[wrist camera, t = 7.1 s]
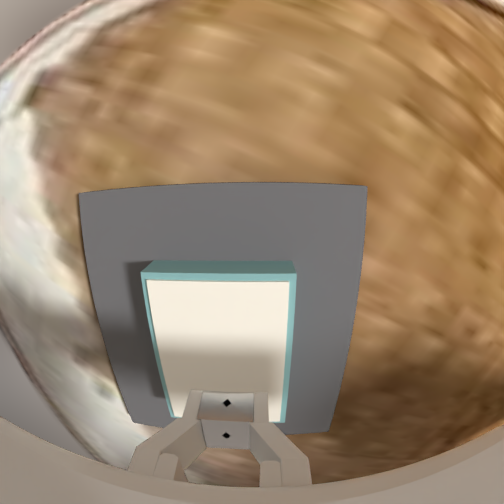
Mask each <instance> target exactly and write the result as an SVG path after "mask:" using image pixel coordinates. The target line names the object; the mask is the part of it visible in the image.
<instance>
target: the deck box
mask: <svg viewBox="0 0 504 504" xmlns="http://www.w3.org/2000/svg"><path fill="white" fill-rule="evenodd" d="M296 279H297V273H296V270H295V267H294V265H293V262H292V261H173V260H154V261H152V262H151V263H150V264H149V265H148V266H147V267H146V268H145V269H144V270H142V271H141V280H142V287H143V293H144V300H145V306H146V312H147V317H148V323H149V328H150V333H151V338H152V343H153V348H154V353H155V357H156V361H157V366H158V370H159V374H160V378H161V382H162V386H163V390H164V394H165V397H166V401H167V405H168V408H169V412H170V415H171V417H174V418H182V416H183V412H184V409H185V405H186V402H187V399H188V395H189V392H190V391H191V389H194V390H203V391H204V390H206V391H219V392H254V393H255V392H267V393H268V411H269V422H273V423H285V417H286V408H287V398H288V388H289V378H290V367H291V355H292V342H293V329H294V314H295V298H296Z"/></svg>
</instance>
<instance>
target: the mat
mask: <svg viewBox="0 0 504 504" xmlns="http://www.w3.org/2000/svg"><path fill="white" fill-rule="evenodd" d="M79 204H80V215H81V225H82V234H83V242H84V249H85V256H86V262H87V268H88V274H89V279H90V285H91V290H92V294H93V299H94V303H95V308H96V312H97V316H98V320H99V324H100V328H101V332H102V335H103V339H104V342H105V346H106V349H107V353H108V356H109V359H110V362H111V365H112V368H113V371H114V374H115V377H116V380H117V383H118V386H119V388H120V391H121V394H122V396H123V399H124V402H125V404H126V407H127V409H128V412H129V414H130V416H131V419H132V421H133V422H134V423H139V424H144V425H150V426H156V427H162V428H164V427H166V426H167V425H169V424H170V423H171V422H173V421H174V420H176V419H177V418H174V417H171V415H170V412H169V408H168V405H167V401H166V397H165V394H164V390H163V386H162V382H161V378H160V374H159V370H158V366H157V361H156V357H155V353H154V348H153V343H152V338H151V333H150V328H149V323H148V317H147V312H146V306H145V300H144V293H143V287H142V280H141V271H142V270H144V269H145V268H146V267H147V266H148V265H149V264H150V263H151V262H152V261H154V260H173V261H292V262H293V265H294V267H295V270H296V273H297V279H296V298H295V314H294V329H293V342H292V355H291V367H290V378H289V388H288V398H287V408H286V417H285V423H274V424H275V425H276V426H277V427H278V428H279V429H280V430H281V431H282V432H283V433H284V435H289V434H306V433H318V432H328V431H329V428H330V425H331V421H332V418H333V414H334V411H335V407H336V403H337V399H338V395H339V391H340V387H341V383H342V379H343V374H344V370H345V365H346V361H347V356H348V351H349V346H350V341H351V335H352V330H353V324H354V318H355V312H356V305H357V298H358V291H359V284H360V276H361V267H362V258H363V248H364V236H365V223H366V206H367V186H362V185H345V184H325V183H293V182H228V183H196V184H175V185H159V186H145V187H132V188H121V189H110V190H101V191H92V192H84V193H79Z"/></svg>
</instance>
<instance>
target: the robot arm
mask: <svg viewBox="0 0 504 504" xmlns="http://www.w3.org/2000/svg"><path fill="white" fill-rule="evenodd" d="M206 447H211V448H231V449H250V451H251V453H252V454H253V456H254V457H255V458H256V460H257V461H258V462H259V464H260V484H259V487H231V486H216V485H205V484H196V483H188V480H187V478H186V475H185V473H184V470H185V469H186V468H187V467H188V466H189V465H191V464H192V463H193V462H194V460H195V459H196V458H197V457H198V456H199V455H200V454H201V453H202V452H203V451H204V450H205V449H206ZM0 504H504V425H501V426H498V427H496V428H494V429H493V430H491V431H489V432H487V433H485V434H483V435H481V436H479V437H477V438H475V439H473V440H471V441H469V442H467V443H465V444H462V445H460V446H458V447H456V448H453V449H451V450H449V451H446V452H444V453H441V454H439V455H436V456H433V457H430V458H428V459H425V460H422V461H419V462H416V463H413V464H410V465H407V466H403V467H400V468H396V469H393V470H389V471H385V472H381V473H377V474H373V475H368V476H364V477H359V478H353V479H348V480H342V481H336V482H329V483H321V484H312V480H311V473H310V465H309V458H308V457H307V456H306V455H305V454H304V453H303V452H302V451H301V450H300V449H299V448H297V447H296V446H295V445H294V444H293V443H292V442H291V441H290V440H289V439H288V438H287V437H286V436H285V435H284V433H283V432H282V431H281V430H280V429H279V428H278V427H277V426H276V425H275V424H274V423H273V422H269V411H268V393H267V392H255V393H254V392H219V391H206V390H204V391H203V390H194V389H191V391H190V392H189V395H188V399H187V402H186V405H185V409H184V412H183V416H182V418H177V419H176V420H174V421H173V422H171V423H170V424H169V425H167V426H166V427H164V428H163V429H162V430H160V431H159V432H157V433H156V434H154V435H153V436H152V437H150V438H149V439H147V440H146V441H144V442H143V443H141V444H140V445H138V446H137V447H136V449H135V452H134V454H133V457H132V460H131V462H130V465H129V467H128V470H124V469H121V468H117V467H114V466H110V465H107V464H104V463H101V462H98V461H95V460H92V459H89V458H86V457H84V456H81V455H78V454H76V453H73V452H71V451H68V450H66V449H63V448H61V447H58V446H56V445H54V444H52V443H50V442H47V441H45V440H43V439H41V438H39V437H37V436H35V435H33V434H31V433H29V432H27V431H25V430H24V429H21V428H20V427H18V426H16V425H14V424H13V423H11V422H9V421H8V420H6V419H4V418H2V417H1V416H0Z"/></svg>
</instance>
